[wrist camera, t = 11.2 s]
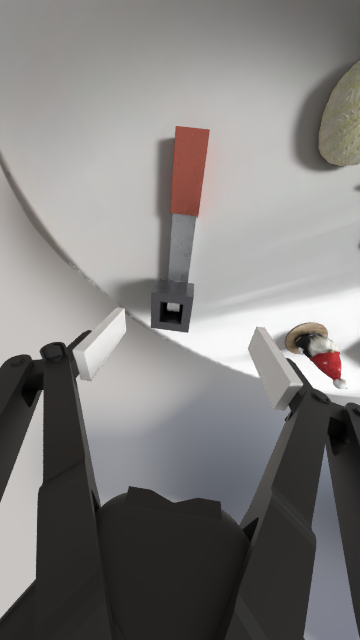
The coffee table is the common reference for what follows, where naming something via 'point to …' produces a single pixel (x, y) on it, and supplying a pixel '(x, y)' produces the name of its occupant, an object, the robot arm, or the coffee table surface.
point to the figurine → (317, 350)
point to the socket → (172, 294)
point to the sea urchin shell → (342, 121)
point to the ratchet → (185, 199)
